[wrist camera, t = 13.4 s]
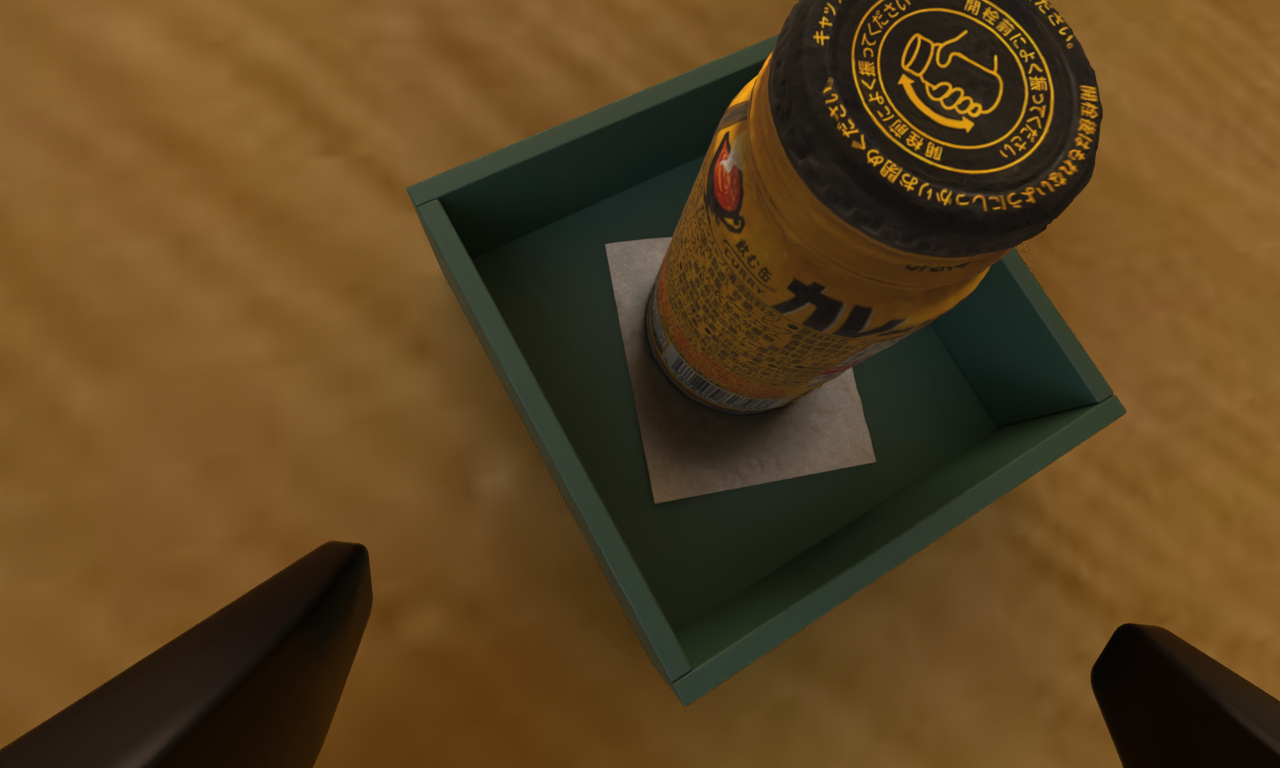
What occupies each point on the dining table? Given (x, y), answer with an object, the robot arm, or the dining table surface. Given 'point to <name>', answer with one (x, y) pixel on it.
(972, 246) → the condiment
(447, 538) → the dining table surface
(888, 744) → the dining table surface
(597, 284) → the square tray
